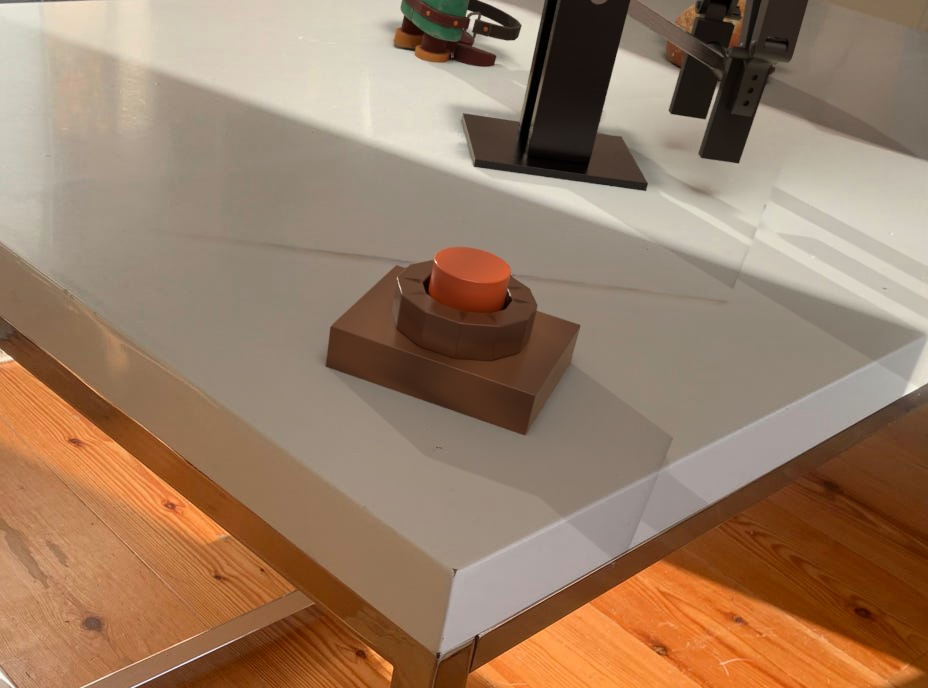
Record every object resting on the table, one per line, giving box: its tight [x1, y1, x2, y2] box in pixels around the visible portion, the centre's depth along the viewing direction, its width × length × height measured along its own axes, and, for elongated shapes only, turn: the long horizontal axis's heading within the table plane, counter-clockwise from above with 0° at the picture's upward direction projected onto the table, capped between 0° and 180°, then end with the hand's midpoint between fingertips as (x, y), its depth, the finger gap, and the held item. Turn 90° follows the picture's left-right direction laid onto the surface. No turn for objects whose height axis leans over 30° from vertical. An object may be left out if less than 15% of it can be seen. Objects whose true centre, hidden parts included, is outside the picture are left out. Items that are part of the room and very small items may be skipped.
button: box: [428, 246, 512, 313], centre depth 52 cm, size 4×4×2 cm
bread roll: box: [665, 0, 776, 81], centre depth 107 cm, size 10×10×8 cm
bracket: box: [461, 0, 649, 192], centre depth 75 cm, size 12×9×14 cm
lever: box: [627, 0, 728, 82], centre depth 74 cm, size 13×6×2 cm, turn 95°
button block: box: [325, 259, 581, 436], centre depth 54 cm, size 10×8×4 cm
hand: (702, 135), depth 79 cm, fingers open, 8 cm apart
